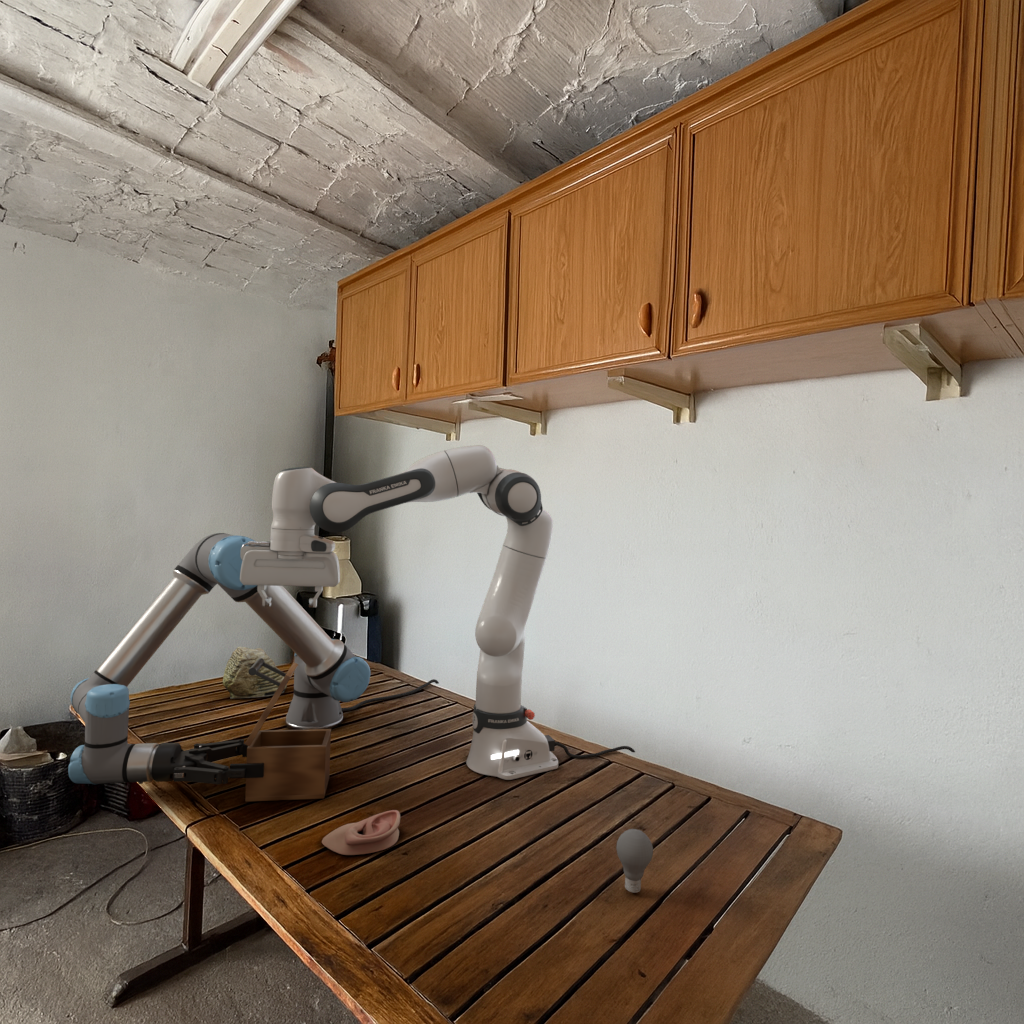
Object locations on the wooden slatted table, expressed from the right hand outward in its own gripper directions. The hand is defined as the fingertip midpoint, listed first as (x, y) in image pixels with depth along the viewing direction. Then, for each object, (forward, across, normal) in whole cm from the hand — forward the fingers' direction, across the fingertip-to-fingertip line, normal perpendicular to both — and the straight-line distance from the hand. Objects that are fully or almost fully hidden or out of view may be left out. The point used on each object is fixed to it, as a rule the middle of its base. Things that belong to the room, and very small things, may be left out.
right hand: (289, 606), depth 136 cm
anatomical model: (+40, +18, -22) cm, 49 cm away
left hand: (+33, -3, 0) cm, 33 cm away
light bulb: (+39, +63, -42) cm, 86 cm away
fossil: (+40, -20, +66) cm, 80 cm away
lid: (+21, -2, 0) cm, 21 cm away
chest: (+40, +1, 0) cm, 40 cm away
